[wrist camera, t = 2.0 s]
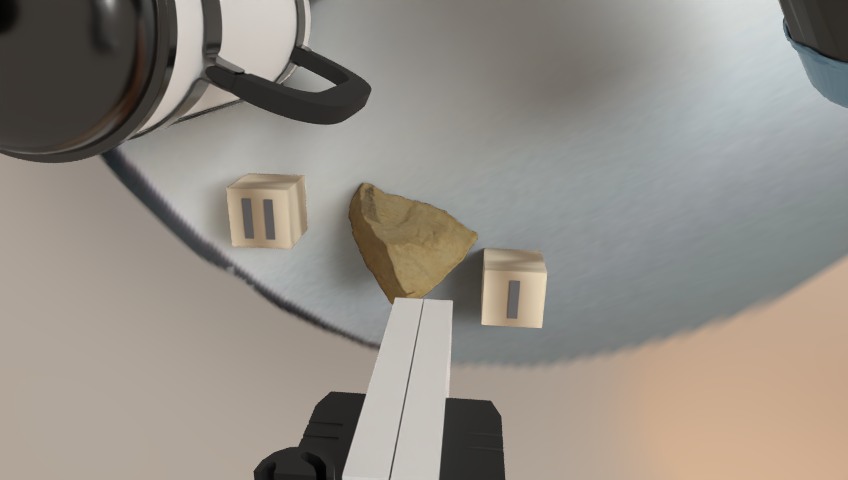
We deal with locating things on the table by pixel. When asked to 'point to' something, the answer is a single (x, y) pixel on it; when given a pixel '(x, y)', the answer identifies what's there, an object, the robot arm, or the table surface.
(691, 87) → the table surface
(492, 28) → the table surface
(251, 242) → the birch block
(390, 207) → the rock
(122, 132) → the coffee press
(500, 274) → the birch block
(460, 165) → the table surface
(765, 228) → the table surface
